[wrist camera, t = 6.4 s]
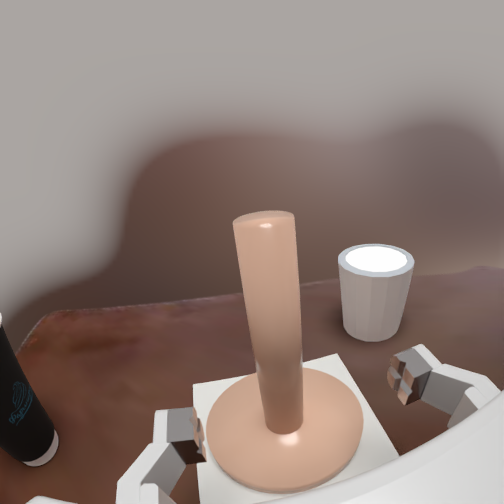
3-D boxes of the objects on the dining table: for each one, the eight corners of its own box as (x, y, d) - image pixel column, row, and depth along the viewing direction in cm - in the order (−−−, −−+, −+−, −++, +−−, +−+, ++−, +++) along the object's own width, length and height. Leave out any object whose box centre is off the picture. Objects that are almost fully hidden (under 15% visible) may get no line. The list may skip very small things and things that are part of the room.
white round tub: (322, 328, 27) (321, 261, 25) (360, 297, 31) (362, 237, 28) (384, 356, 22) (394, 284, 19) (415, 317, 26) (425, 252, 23)
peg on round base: (330, 364, 22) (329, 184, 17) (385, 462, 13) (453, 238, 8) (205, 391, 21) (155, 212, 16) (218, 507, 12) (102, 307, 6)
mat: (336, 356, 23) (336, 353, 23) (404, 469, 12) (406, 467, 12) (194, 387, 22) (192, 384, 22) (204, 524, 11) (202, 522, 11)
